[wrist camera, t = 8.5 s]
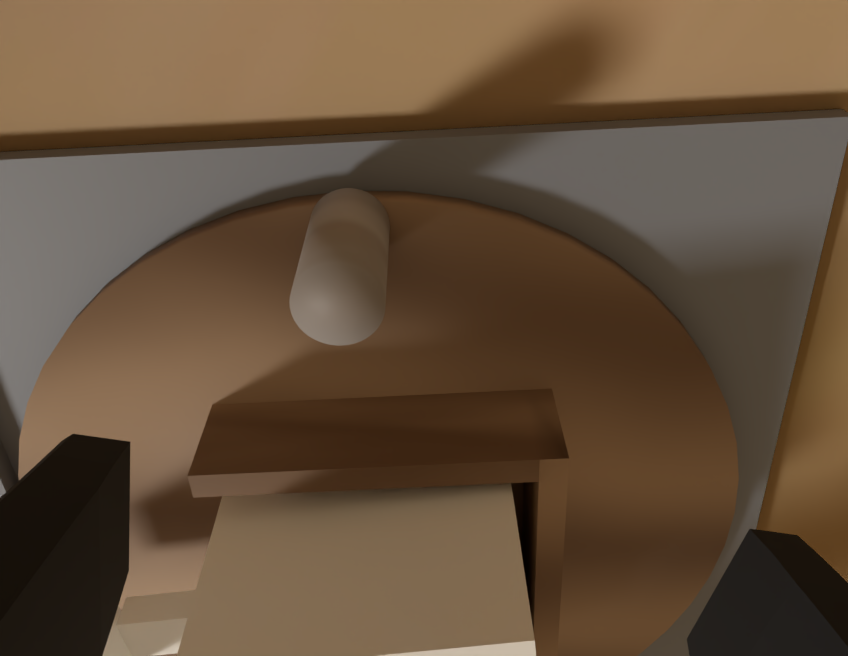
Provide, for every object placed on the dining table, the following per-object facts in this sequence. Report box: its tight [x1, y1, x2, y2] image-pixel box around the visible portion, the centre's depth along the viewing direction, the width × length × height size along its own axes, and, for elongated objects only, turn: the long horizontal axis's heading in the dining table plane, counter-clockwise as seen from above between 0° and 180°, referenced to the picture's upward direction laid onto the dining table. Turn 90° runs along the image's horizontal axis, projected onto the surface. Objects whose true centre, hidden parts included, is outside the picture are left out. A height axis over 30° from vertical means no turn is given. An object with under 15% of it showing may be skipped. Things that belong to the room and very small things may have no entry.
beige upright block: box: [103, 483, 536, 656], centre depth 18 cm, size 12×6×6 cm, turn 98°
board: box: [0, 109, 848, 656], centre depth 21 cm, size 30×20×1 cm, turn 93°
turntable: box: [18, 188, 739, 656], centre depth 19 cm, size 18×18×4 cm
